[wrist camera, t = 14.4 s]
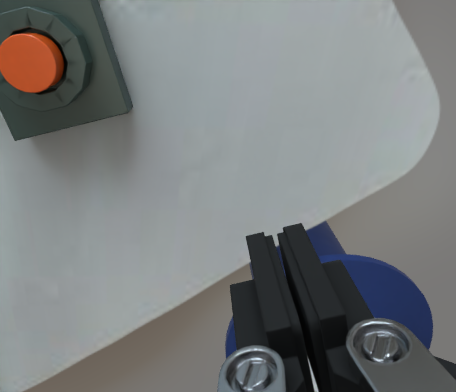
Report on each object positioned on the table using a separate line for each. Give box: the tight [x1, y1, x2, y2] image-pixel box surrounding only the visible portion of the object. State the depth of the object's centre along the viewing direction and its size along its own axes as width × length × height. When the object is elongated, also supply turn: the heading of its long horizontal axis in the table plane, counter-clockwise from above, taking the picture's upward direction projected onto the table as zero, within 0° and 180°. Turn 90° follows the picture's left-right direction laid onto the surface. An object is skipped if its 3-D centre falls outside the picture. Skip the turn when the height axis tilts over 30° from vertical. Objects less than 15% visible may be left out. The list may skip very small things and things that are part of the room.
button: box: [0, 33, 64, 93], centre depth 27 cm, size 4×4×2 cm
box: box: [0, 0, 133, 141], centre depth 29 cm, size 10×9×4 cm
